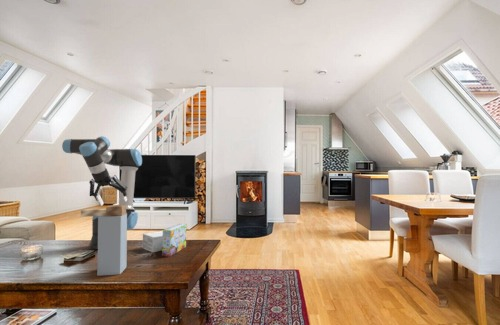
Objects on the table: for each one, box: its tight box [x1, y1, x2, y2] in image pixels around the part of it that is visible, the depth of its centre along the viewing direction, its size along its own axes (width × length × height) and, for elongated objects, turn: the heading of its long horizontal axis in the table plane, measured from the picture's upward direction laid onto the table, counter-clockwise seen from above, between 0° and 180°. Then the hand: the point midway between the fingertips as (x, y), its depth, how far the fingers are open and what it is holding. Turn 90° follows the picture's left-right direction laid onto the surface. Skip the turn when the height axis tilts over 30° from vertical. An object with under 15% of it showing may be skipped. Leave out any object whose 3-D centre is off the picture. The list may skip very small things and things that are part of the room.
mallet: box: [80, 204, 126, 218], centre depth 132 cm, size 19×7×4 cm, turn 99°
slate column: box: [96, 213, 128, 277], centre depth 132 cm, size 10×10×27 cm
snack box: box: [161, 223, 187, 258], centre depth 164 cm, size 21×6×15 cm, turn 168°
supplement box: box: [142, 230, 163, 253], centre depth 172 cm, size 17×13×9 cm
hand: (114, 202), depth 153 cm, fingers open, 13 cm apart
